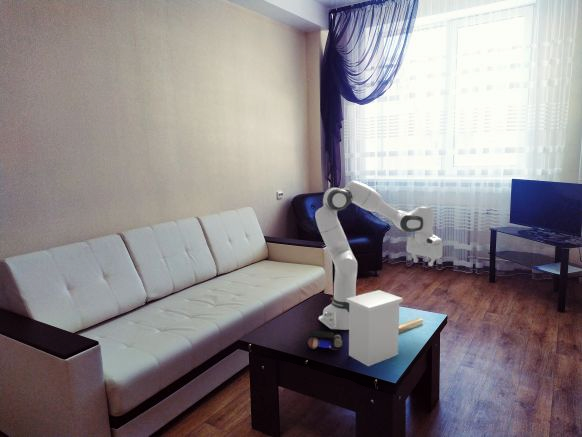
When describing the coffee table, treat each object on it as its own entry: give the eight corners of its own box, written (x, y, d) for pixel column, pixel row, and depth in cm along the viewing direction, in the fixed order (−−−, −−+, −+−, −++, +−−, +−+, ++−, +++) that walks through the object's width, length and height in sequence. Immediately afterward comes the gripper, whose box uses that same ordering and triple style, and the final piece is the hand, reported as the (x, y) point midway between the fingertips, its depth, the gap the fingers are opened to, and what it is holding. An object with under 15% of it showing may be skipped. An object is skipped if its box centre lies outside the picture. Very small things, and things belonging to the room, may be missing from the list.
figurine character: (340, 347, 196) (307, 343, 197) (342, 332, 195) (309, 328, 196) (340, 354, 189) (307, 350, 190) (342, 338, 188) (309, 334, 189)
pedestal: (345, 355, 186) (346, 298, 182) (378, 343, 197) (379, 289, 193) (368, 368, 174) (369, 307, 170) (401, 354, 185) (402, 298, 181)
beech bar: (418, 317, 221) (417, 323, 221) (384, 329, 206) (384, 335, 206) (422, 319, 218) (422, 324, 219) (388, 332, 203) (388, 337, 204)
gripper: (404, 235, 223) (403, 260, 225) (436, 241, 206) (435, 269, 208) (412, 234, 226) (411, 259, 228) (444, 240, 209) (443, 267, 211)
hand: (423, 263), depth 218 cm, fingers open, 8 cm apart
